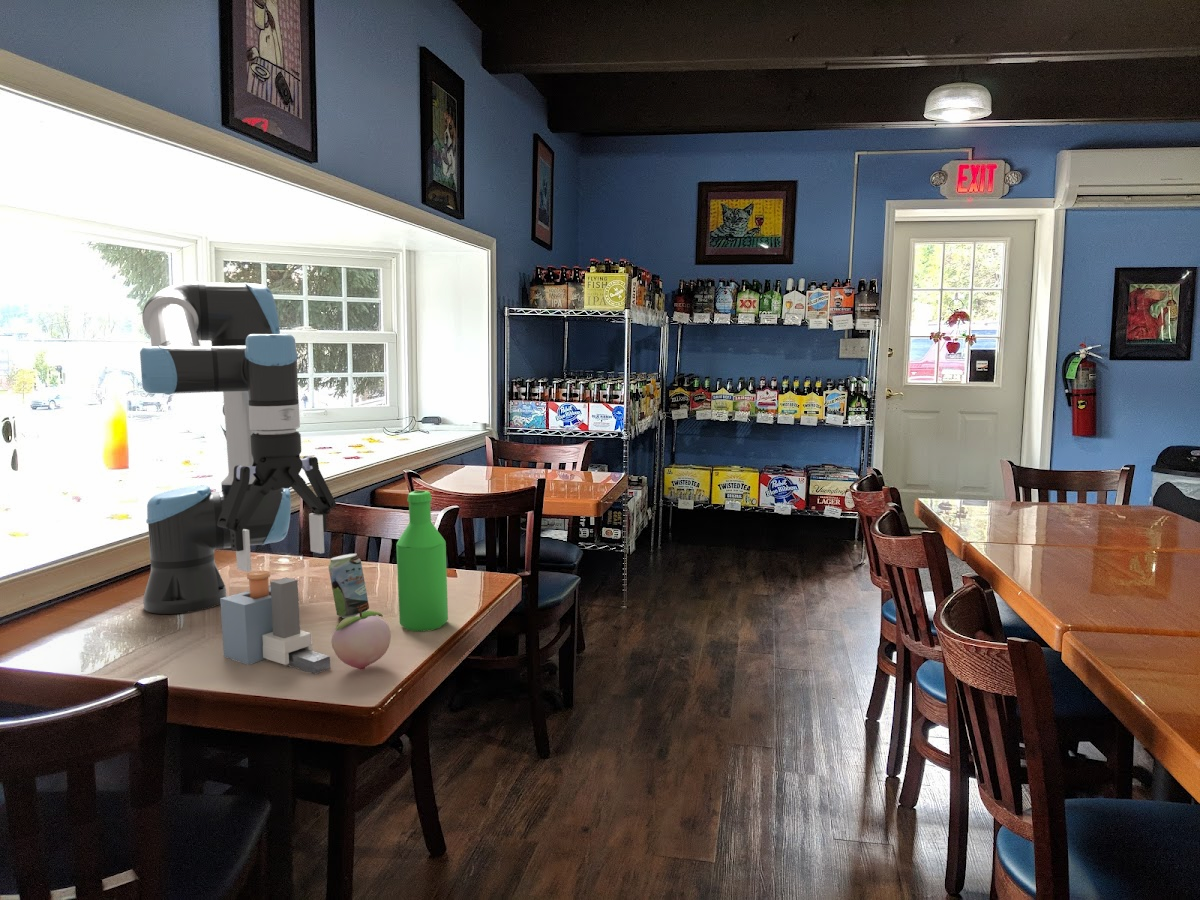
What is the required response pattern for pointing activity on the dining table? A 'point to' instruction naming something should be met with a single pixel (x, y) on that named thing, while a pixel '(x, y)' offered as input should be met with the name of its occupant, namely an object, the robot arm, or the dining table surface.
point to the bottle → (421, 569)
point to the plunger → (258, 584)
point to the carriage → (285, 623)
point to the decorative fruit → (361, 639)
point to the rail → (309, 661)
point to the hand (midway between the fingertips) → (282, 560)
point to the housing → (245, 626)
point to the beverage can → (348, 585)
